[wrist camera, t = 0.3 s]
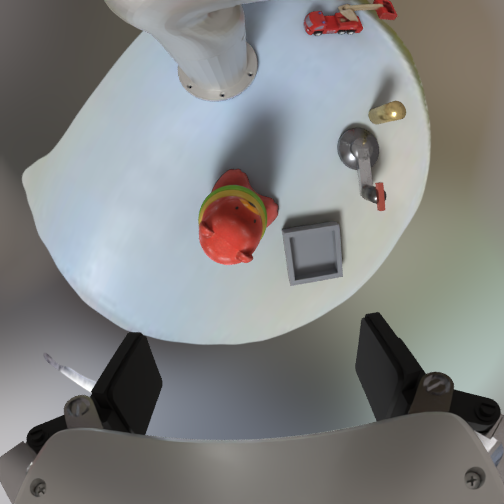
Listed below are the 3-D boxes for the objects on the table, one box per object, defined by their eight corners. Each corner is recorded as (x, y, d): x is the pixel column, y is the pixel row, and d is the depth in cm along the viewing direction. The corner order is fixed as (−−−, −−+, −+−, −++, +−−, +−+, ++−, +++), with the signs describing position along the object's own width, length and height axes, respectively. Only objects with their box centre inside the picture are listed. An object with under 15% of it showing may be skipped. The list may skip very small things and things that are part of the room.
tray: (281, 229, 45) (283, 233, 43) (334, 221, 45) (339, 224, 42) (288, 279, 48) (290, 285, 46) (338, 270, 48) (342, 276, 45)
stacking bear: (283, 209, 44) (302, 240, 27) (240, 253, 47) (234, 306, 30) (234, 163, 42) (221, 164, 25) (191, 209, 44) (156, 240, 27)
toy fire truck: (300, 22, 34) (310, -6, 24) (370, 20, 32) (392, -1, 23) (306, 37, 35) (318, 11, 25) (376, 35, 34) (400, 15, 24)
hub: (334, 129, 40) (336, 129, 39) (372, 127, 39) (375, 127, 38) (340, 172, 42) (342, 172, 41) (378, 168, 42) (381, 168, 41)
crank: (348, 138, 39) (363, 136, 33) (368, 137, 39) (385, 135, 33) (356, 204, 42) (371, 212, 36) (376, 202, 42) (392, 209, 36)
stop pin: (367, 108, 38) (388, 100, 31) (381, 108, 38) (404, 101, 31) (370, 124, 39) (391, 119, 32) (384, 124, 39) (407, 119, 32)
